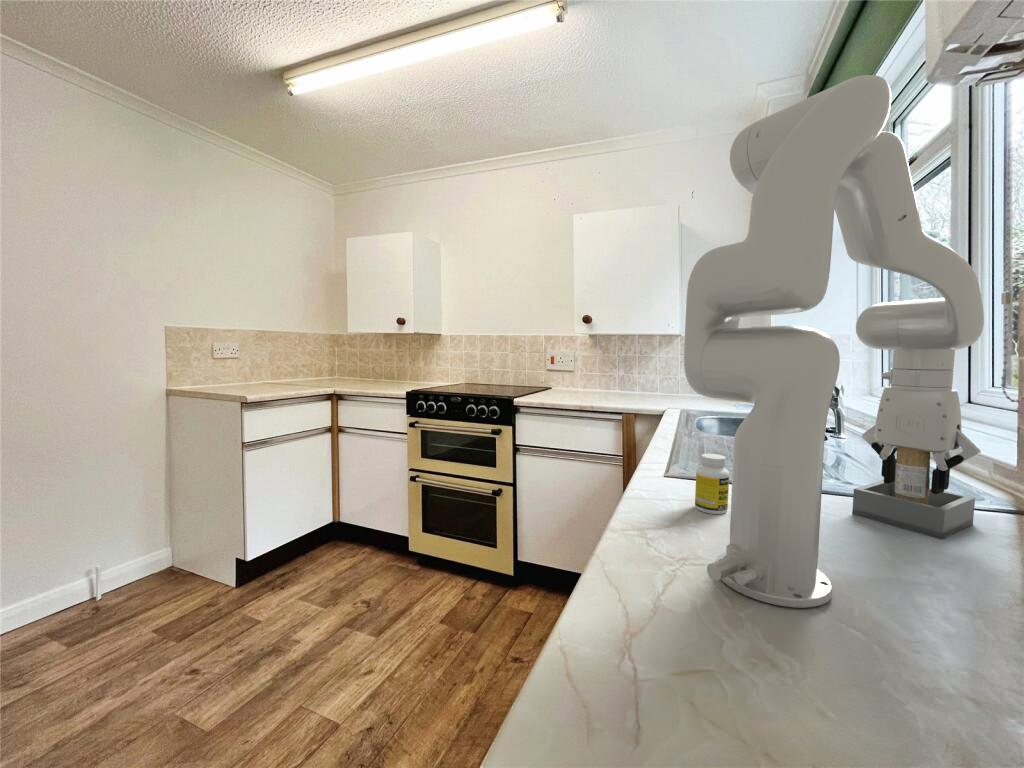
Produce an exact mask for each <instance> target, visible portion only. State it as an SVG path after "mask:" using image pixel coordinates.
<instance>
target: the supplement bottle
mask: <svg viewBox="0 0 1024 768" xmlns="http://www.w3.org/2000/svg"><path fill="white" fill-rule="evenodd" d="M726 457H727V456H724V455H723V454H718V453H703V454H701V457H700V463H701V465H699V466H698V467H697V468H696V473H695V493H694V494H695V495H694V507H695V508H696V509H697V510H698V511H700V512H703V513H705V514H711V515H722V514H726V512H728V509H729V508H728V505H729V492H730V491H729V489H730V472H729V470H728V469H726V468H725V466H726V465H727V464H726V463H727V461H726V460H727V458H726Z"/></svg>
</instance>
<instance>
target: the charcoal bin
mask: <svg viewBox="0 0 1024 768" xmlns="http://www.w3.org/2000/svg"><path fill="white" fill-rule="evenodd" d="M975 504H976V497H975V496H969V495H965V494H960V493H955V492H950V491H946V490H944V492H942V493H939V494H933V493H932V492H931V487H930V488H929V496H928V505H927V504H923V503H918V502H914V501H910V500H906V499H902V498H897V497H895V482H892V483H888V484H887V483H884V479H882V480H878V481H875V482H871V483H869V484H865V485H861V486H858V487H855V488H853V498H852V513H851V514H852V515H855V516H859V517H862V518H865V519H869V520H871V521H872V520H873V521H876V522H879V523H883V524H886V525H890V526H894V527H897V528H901V529H904V530H908V531H911V532H914V533H918V534H921V535H925V536H929V537H933V538H936V539H939V540H945V539H947V538H948V537H950V536H952V535H954V534H957V533H959V532H961V531H963V530H964V529H966V528H969V527H971V526H973V525H974V515H975Z"/></svg>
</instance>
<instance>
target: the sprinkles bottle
mask: <svg viewBox="0 0 1024 768" xmlns="http://www.w3.org/2000/svg"><path fill="white" fill-rule="evenodd" d="M896 459H897V460H896V471H895V497H897V498H902V499H906V500H910V501H914V502H918V503H923V504H927V505H928V496H929V488H931V487H930V486H931V483H930V481H931V477H930V476H931V475H930V472H931V468H930V467H931V452H927V451H921V450H914V449H908V448H902V447H897V453H896Z"/></svg>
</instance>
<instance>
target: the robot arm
mask: <svg viewBox="0 0 1024 768" xmlns="http://www.w3.org/2000/svg"><path fill="white" fill-rule="evenodd" d="M891 106H892V90H891V87H890V84H889V83H888V80H886V79H885V78H883V77H882V76H880V75H876V74H875V75H873V74H863V75H857V76H853V77H851V78H849V79H846V80H844V81H842V82H840V83H838V84H835V85H833V86H831V87H828V88H827V89H824V90H822V91H820V92H818V93H816V94H813V95H811V96H809V97H806V98H804V99H802V100H800V101H798V102H796V103H794V104H792V105H790V106H788V107H786V108H783V109H781V110H779V111H777V112H775V113H771V114H770V115H768V116H765V117H763V118H761V119H759V120H757V121H755V122H754V123H751V124H749V125H747V126H746V127H745V128H743V130H741V131H740V132H739V133H738V134H737V136H736V137H735V138H734V140H733V142H732V144H731V147H730V151H729V166H730V168H731V171H732V174H733V176H734V178H735V179H736V181H737V182H738V183H739V184H740V185H741V186H742V187H743V188H744V189H746V191H748V192H750V193H751V194H752V197H751V204H750V214H749V215H750V217H749V225H748V233H747V235H746V237H745V239H744V240H743V241H739V242H737V243H731V244H726V245H722V246H718V247H716V248H713V249H711V250H708V251H706V252H705V253H704V254H702V255H701V257H699V258H698V260H697V261H696V263H695V264H694V266H693V268H692V269H691V270H692V271H691V272H690V275H689V278H688V282H687V290H686V303H685V304H686V307H685V321H684V322H685V323H684V345H683V347H684V348H683V349H684V350H683V363H684V373H685V377H686V381H687V383H688V385H689V386H690V388H691V389H692V390H693V391H694V392H695V393H697V394H699V395H700V396H703V397H707V398H711V399H718V400H726V401H733V402H734V401H735V402H745V403H749V404H753V407H752V409H751V410H750V412H749V413H748V414H747V415H746V417H744V419H743V420H742V422H741V423H740V424H739V426H738V428H737V430H736V432H735V434H734V438H733V445H732V472H731V473H732V475H731V498H730V502H731V503H730V526H729V544H727V545H726V550H725V551H726V552H723V553H721V554H720V555H718V556H717V557H716V559H715V561H714V562H711V563H708V565H707V566H706V572H707V574H708V576H709V578H710V579H712V580H713V581H722V582H723V583H724V584H725V585H727V587H730V588H731V589H732V590H734V591H736V592H738V593H740V594H742V595H744V596H746V597H749V598H751V599H753V600H756V601H759V602H763V603H766V604H770V605H775V606H779V607H787V608H802V609H804V608H805V609H807V608H815V607H819V606H822V605H824V604H827V603H828V602H829V601H830V600H831V598H832V594H833V585H832V583H831V580H830V579H829V578H828V577H827V576H826V575H825V574H824V573H823V572H821V570H819V569H818V561H819V560H818V559H819V544H820V543H819V541H820V528H821V527H820V526H821V511H822V508H821V507H822V495H823V494H822V491H823V490H822V489H823V472H824V453H825V451H824V450H825V443H826V442H825V441H826V428H827V423H828V417H829V416H828V414H829V411H830V406H831V402H832V399H833V394H834V390H835V387H836V384H837V380H838V376H839V372H840V365H841V363H840V362H841V361H840V360H841V359H840V357H841V356H840V351H839V348H838V346H837V344H836V343H835V341H834V340H833V338H831V337H830V336H829V335H828V334H827V333H824V332H823V331H821V330H818V329H816V328H813V327H807V326H803V325H802V326H801V325H770V326H769V325H767V326H752V327H739V325H740V320H741V318H750V317H764V316H779V315H789V314H797V313H803V312H806V311H809V310H811V309H813V308H815V307H817V306H818V305H819V304H820V303H821V302H822V301H823V300H824V298H825V296H826V293H827V291H828V290H827V289H828V285H829V279H830V272H831V263H832V262H831V261H832V260H831V259H832V247H833V236H834V235H833V234H834V219H835V214H836V217H837V218H836V219H837V221H838V225H839V228H840V231H841V235H842V240H843V243H844V246H845V249H846V254H847V256H848V258H850V259H851V260H852V261H854V262H855V263H858V264H861V265H865V266H869V267H872V268H877V269H881V270H885V271H889V272H895V273H897V274H903V275H906V276H909V277H913V278H916V279H918V280H920V281H923V282H925V283H927V284H928V285H929V286H931V287H933V288H935V290H937V291H938V293H940V295H941V296H942V297H940V298H938V297H937V298H926V299H924V298H923V299H911V300H902V301H891V302H890V301H889V302H881V303H877V304H876V303H875V304H873V305H869V307H867V308H865V309H864V310H863V311H862V312H861V313H860V314H859V316H858V318H857V320H856V323H855V332H856V335H857V338H858V340H859V341H860V342H861V343H862V344H863V345H864V346H867V347H868V348H871V349H875V350H885V351H887V350H888V351H889V350H890V351H892V350H893V354H892V367H891V368H890V370H889V371H883V372H882V374H881V378H882V380H887V381H889V384H890V386H884V388H883V390H882V394H881V398H880V401H879V405H878V409H877V414H876V420H875V425H873V426H872V427H870V428H869V429H868V430H866V431H865V432H863V433H862V434H861V437H862V439H863V440H864V441H865V442H866V443H867V444H869V445H870V446H871V448H872V449H873V450H874V452H875V453H876V454H877V455H878V457H879V459H880V460H881V473H880V475H881V477H882V478H883V480H884V483H887V484H888V483H892V482H895V471H896V460H897V458H896V455H897V447H902V448H908V449H914V450H921V451H927V452H930V453H931V454H932V456H933V459H934V462H935V464H936V466H935V468H933V470H932V473H931V475H932V476H931V483H930V486H931V487H930V488H931V492H932V493H933V494H939V493H942V492H944V491H946V490H948V489H949V484H950V475H951V474H950V473H951V469H953V468H955V467H956V466H958V465H960V464H962V463H964V462H966V461H968V460H970V459H971V458H974V457H976V456H978V455H980V454H981V450H980V448H979V447H978V446H976V444H974V442H973V441H971V440H970V439H969V437H968V436H966V435H965V434H964V433H963V432H962V413H961V412H962V411H961V403H960V398H959V393H958V390H957V389H953V382H954V371H955V370H954V369H955V368H954V367H955V358H956V357H955V356H956V350H961V349H966V348H968V347H971V346H972V345H973V344H975V343H976V342H977V341H978V340H979V338H980V337H981V336H982V332H983V330H984V326H985V315H984V314H985V312H984V305H983V300H982V294H981V287H980V284H979V280H978V279H979V278H978V277H977V274H976V272H975V270H974V269H973V267H972V266H971V265H970V263H969V262H968V261H967V260H966V259H964V257H963V256H961V254H960V253H957V251H956V250H954V249H953V248H951V247H950V246H948V245H947V244H945V243H943V242H942V241H939V240H937V239H936V238H934V237H932V236H930V235H928V234H927V233H926V232H925V231H924V229H923V226H922V224H921V223H922V222H921V217H920V213H919V210H918V205H917V200H916V195H915V190H914V185H913V184H914V183H913V179H912V175H911V170H910V166H909V162H908V161H909V160H908V157H907V153H906V148H905V144H904V141H902V139H901V137H900V136H899V135H897V134H896V133H893V132H892V131H885V130H884V131H882V130H883V129H884V127H885V125H886V123H887V120H888V118H889V115H890V112H891V111H890V110H891ZM959 448H961V449H962V451H960V452H959V453H957V454H956V455H953V456H951V453H950V451H953V450H954V451H955V450H957V449H959Z"/></svg>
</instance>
